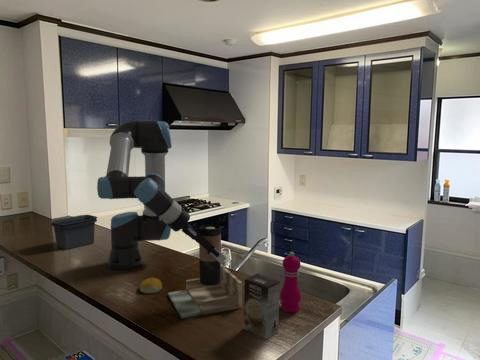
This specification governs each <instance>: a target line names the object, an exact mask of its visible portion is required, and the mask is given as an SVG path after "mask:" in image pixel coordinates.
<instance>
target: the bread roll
mask: <svg viewBox="0 0 480 360" xmlns="http://www.w3.org/2000/svg"><path fill="white" fill-rule="evenodd" d="M162 288H163V285H162V281H161V280H160V279H158V278H156V277H149V278H146V279H144V280H143V281H142V282H141V283H140V285H139V291H140V292H141V293H143V294H156V293H159V292H160V291H162Z"/></svg>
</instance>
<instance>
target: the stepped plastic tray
mask: <svg viewBox="0 0 480 360" xmlns="http://www.w3.org/2000/svg"><path fill="white" fill-rule="evenodd" d="M167 296H168V298H169V299H170V302H171V303H172V305H173V306H174V308H175V309H176V312H177V313H178V315H179V317H180V318H181V319H185V318H191V317H196V316H200V315H203V316H205V315H210V314H216V313H220V312H226V311H230V310H236V309H241V308H243V282H242V281H241V280H240V279H239V278H238V277H237V276H235V275H234V273H232V272H231V271H230V270H229V269H228V268H227V267H225V266H224V265H223V263H222V264H221V272H220V283H219V284H217V285H213V286H206V285H203V284H201V283H200V277H198V278H191V279H186V280H185V289H183V290H177V291H170V292H168V293H167Z"/></svg>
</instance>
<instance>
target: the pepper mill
mask: <svg viewBox="0 0 480 360" xmlns="http://www.w3.org/2000/svg"><path fill="white" fill-rule="evenodd" d="M282 267H283V275H284V283H283V286H282V287H281V290H280V291H279V300H281V302H280V308H281V310H282V311H284V312H287V313H292V314H293V313H297V312H299V311H300V302H301V300H302V292H301V290H300V287H299V283H298V276H299V269H300V268H301V260H300V259H299V257H298V256H295V253H294V251H289V253H288V255H287V256H285V257H284V258H283V260H282Z"/></svg>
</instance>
